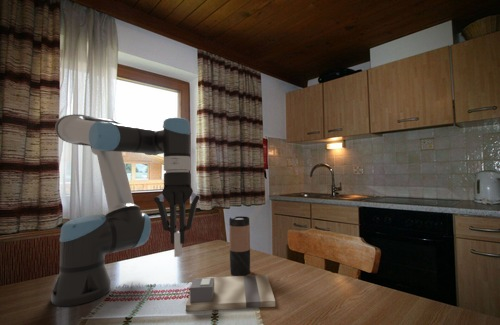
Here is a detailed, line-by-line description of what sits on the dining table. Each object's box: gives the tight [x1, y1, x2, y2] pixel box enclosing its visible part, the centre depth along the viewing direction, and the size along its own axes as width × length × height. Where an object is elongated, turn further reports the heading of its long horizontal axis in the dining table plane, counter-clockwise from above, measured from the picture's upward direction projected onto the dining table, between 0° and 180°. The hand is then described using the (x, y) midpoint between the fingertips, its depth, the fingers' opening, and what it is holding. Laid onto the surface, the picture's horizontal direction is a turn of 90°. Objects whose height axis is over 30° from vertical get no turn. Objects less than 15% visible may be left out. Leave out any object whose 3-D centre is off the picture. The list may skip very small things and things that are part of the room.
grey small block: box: [189, 277, 214, 303], centre depth 71 cm, size 6×6×4 cm
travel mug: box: [228, 215, 251, 276], centre depth 93 cm, size 8×8×20 cm
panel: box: [185, 274, 276, 312], centre depth 76 cm, size 24×18×2 cm
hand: (178, 255), depth 71 cm, fingers closed
